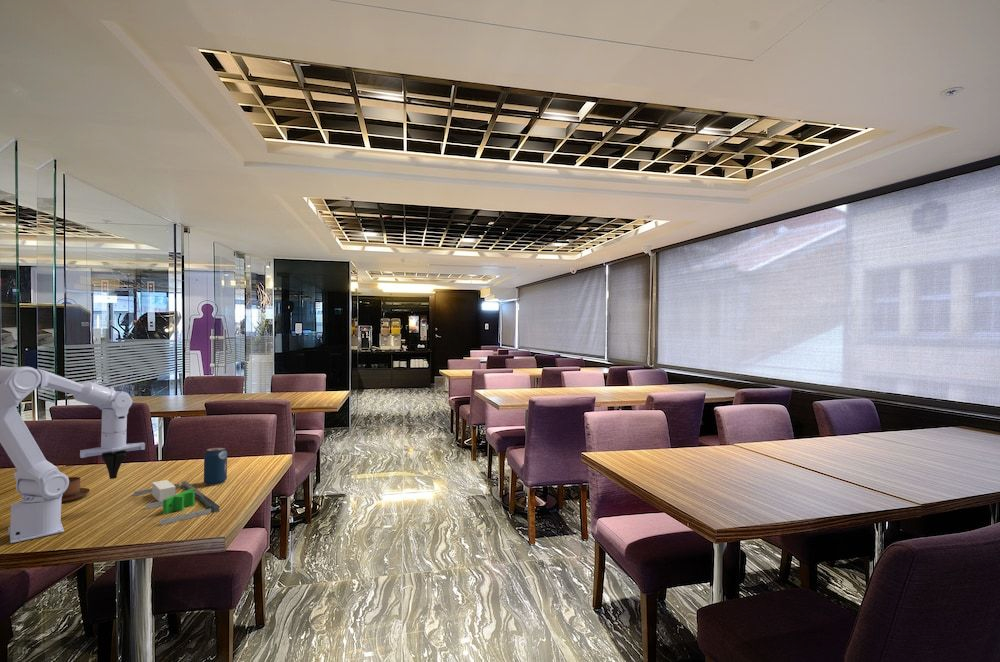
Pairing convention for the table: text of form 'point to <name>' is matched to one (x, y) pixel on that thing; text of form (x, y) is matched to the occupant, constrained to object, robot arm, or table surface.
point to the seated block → (163, 490)
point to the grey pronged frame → (199, 496)
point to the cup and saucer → (74, 490)
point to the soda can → (215, 466)
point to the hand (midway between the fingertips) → (112, 477)
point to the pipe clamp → (179, 501)
